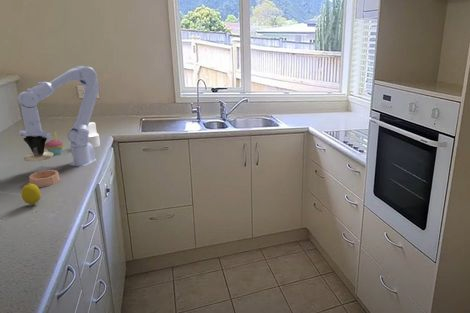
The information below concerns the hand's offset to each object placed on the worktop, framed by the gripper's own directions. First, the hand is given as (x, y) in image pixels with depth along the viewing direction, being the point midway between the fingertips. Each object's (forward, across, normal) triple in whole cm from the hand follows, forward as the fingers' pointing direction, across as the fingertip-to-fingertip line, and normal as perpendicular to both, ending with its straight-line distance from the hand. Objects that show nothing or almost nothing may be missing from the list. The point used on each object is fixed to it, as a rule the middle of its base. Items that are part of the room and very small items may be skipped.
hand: (38, 153), depth 141 cm
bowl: (+9, +10, -9) cm, 16 cm away
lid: (+2, 0, 0) cm, 2 cm away
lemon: (+9, +21, -26) cm, 34 cm away
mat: (+9, 0, 0) cm, 9 cm away
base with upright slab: (+9, -6, +40) cm, 42 cm away
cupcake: (+9, -14, +23) cm, 29 cm away
